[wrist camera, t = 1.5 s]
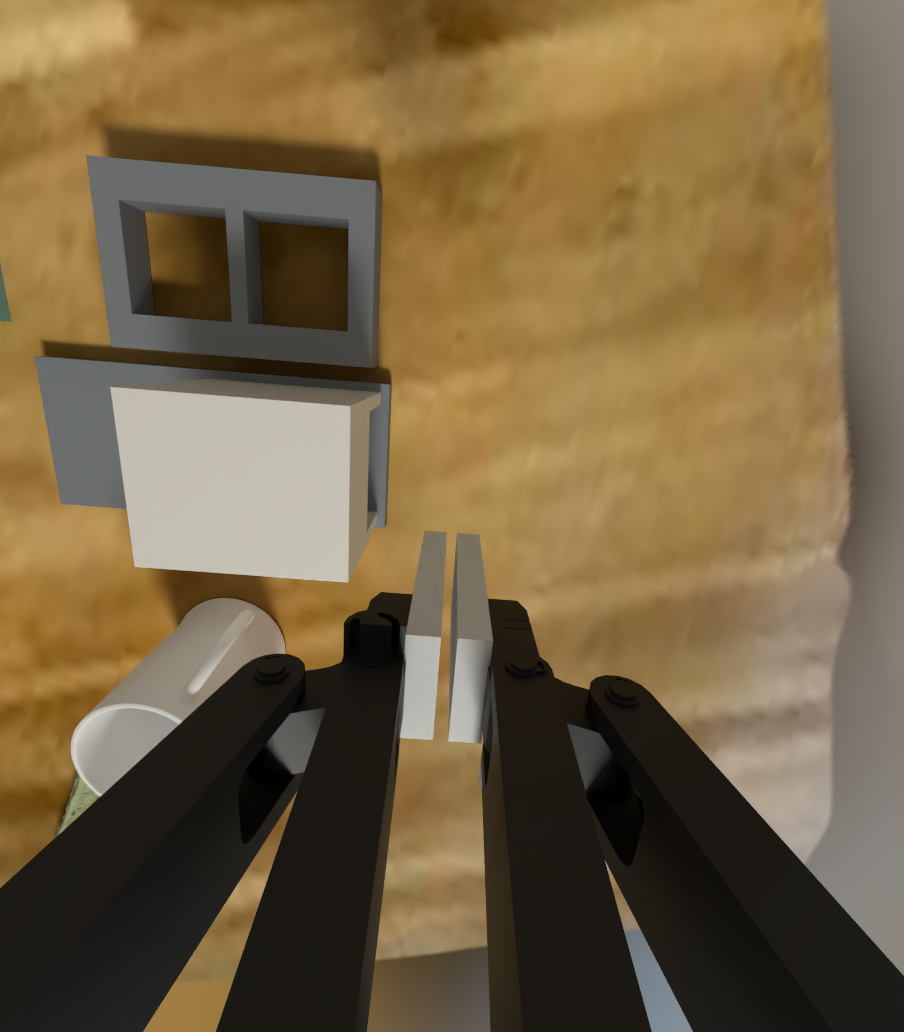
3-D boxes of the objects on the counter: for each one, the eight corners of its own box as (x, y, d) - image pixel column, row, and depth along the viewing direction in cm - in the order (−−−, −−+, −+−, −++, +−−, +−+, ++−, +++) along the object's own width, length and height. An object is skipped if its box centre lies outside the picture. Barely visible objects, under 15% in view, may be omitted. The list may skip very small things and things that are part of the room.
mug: (239, 546, 37) (142, 632, 25) (331, 613, 38) (278, 721, 27) (159, 648, 39) (38, 767, 28) (248, 706, 41) (168, 840, 30)
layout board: (71, 499, 35) (12, 521, 31) (47, 356, 32) (-24, 355, 28) (386, 523, 36) (375, 549, 31) (391, 383, 33) (380, 388, 28)
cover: (220, 511, 34) (134, 566, 25) (210, 378, 31) (110, 387, 22) (376, 522, 34) (348, 582, 25) (380, 392, 32) (350, 406, 22)
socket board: (135, 347, 32) (111, 346, 30) (115, 171, 29) (86, 155, 27) (377, 367, 32) (371, 367, 30) (382, 194, 29) (376, 180, 27)
